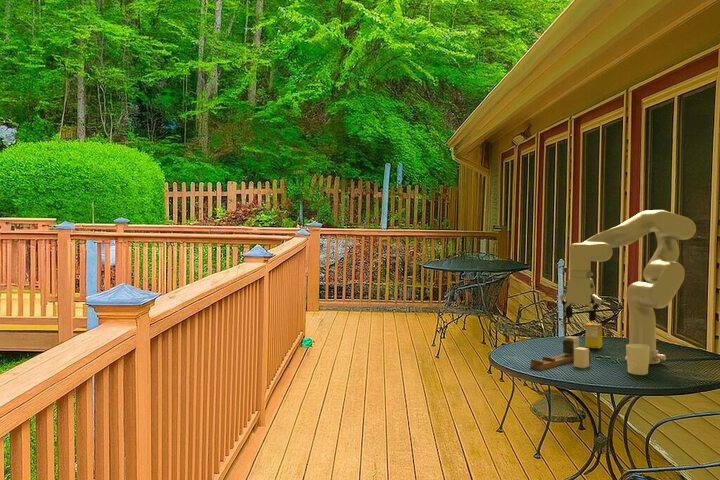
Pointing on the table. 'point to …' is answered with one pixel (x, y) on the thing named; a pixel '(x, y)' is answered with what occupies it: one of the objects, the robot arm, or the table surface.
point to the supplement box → (593, 336)
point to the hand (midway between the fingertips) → (580, 319)
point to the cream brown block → (582, 357)
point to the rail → (558, 360)
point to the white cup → (637, 358)
